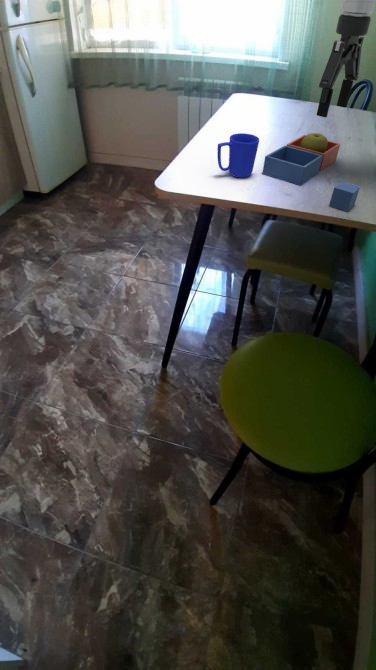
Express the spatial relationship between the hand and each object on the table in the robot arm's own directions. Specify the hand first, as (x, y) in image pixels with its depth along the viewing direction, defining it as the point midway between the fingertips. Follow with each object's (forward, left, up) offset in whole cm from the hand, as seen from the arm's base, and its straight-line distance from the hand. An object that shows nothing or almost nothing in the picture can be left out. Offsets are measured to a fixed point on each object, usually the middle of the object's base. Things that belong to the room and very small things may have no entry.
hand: (331, 111), depth 114 cm
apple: (+5, -6, -16) cm, 17 cm away
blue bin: (+5, +8, -16) cm, 19 cm away
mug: (+17, +20, -16) cm, 31 cm away
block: (-15, +18, -16) cm, 29 cm away
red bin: (+5, -6, -16) cm, 18 cm away
